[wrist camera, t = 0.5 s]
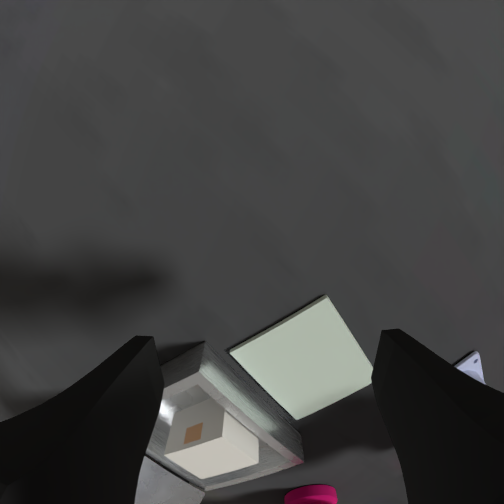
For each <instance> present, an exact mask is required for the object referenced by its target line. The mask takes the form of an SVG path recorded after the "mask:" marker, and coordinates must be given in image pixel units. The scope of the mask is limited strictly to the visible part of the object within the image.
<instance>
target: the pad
mask: <svg viewBox="0 0 504 504" xmlns="http://www.w3.org/2000/svg"><path fill="white" fill-rule="evenodd" d="M230 354H231V355H232V356H233V357H234V358H235V359H236V360H237V361H238V362H239V363H240V364H241V365H242V367H243V368H244V369H245V370H246V371H247V372H248V373H249V374H250V375H251V376H252V377H253V378H254V379H255V380H256V381H257V382H258V383H259V384H260V385H261V386H262V387H263V388H264V389H265V390H266V391H267V392H268V393H269V394H270V395H271V396H272V397H273V398H274V399H275V400H276V401H277V402H278V403H279V404H280V405H281V406H282V407H283V408H284V409H285V410H286V411H287V412H288V413H290V414H291V415H292V416H293V417H294V418H295V419H296V420H298V419H301V418H303V417H305V416H307V415H310V414H312V413H314V412H316V411H318V410H320V409H322V408H324V407H326V406H329V405H331V404H333V403H335V402H337V401H339V400H341V399H342V398H344V397H346V396H348V395H350V394H352V393H354V392H356V391H358V390H360V389H361V388H363V387H365V386H367V385H369V384H370V383H372V381H371V375H372V371H373V367H372V365H371V363H370V362H369V360H368V359H367V357H366V355H365V354H364V352H363V351H362V349H361V347H360V346H359V344H358V343H357V341H356V340H355V338H354V336H353V335H352V333H351V332H350V330H349V329H348V327H347V326H346V324H345V322H344V321H343V319H342V318H341V316H340V315H339V313H338V312H337V310H336V309H335V307H334V305H333V304H332V302H331V301H330V299H329V298H328V296H327V295H324V296H323V297H321V298H319V299H318V300H316V301H314V302H313V303H311V304H309V305H308V306H306V307H304V308H303V309H301V310H299V311H298V312H296V313H294V314H293V315H291V316H289V317H287V318H286V319H284V320H282V321H281V322H279V323H277V324H275V325H274V326H272V327H270V328H268V329H267V330H265V331H263V332H261V333H259V334H258V335H256V336H254V337H252V338H250V339H249V340H247V341H245V342H243V343H241V344H239V345H238V346H236V347H234V348H232V349H230Z"/></svg>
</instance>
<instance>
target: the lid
mask: <svg viewBox="0 0 504 504" xmlns="http://www.w3.org/2000/svg"><path fill="white" fill-rule="evenodd" d="M204 495H205V493H204V492H202V491H200V490H199V489H197V488H195V487H193V486H192V485H190V484H188V483H186V482H185V481H183V480H181V479H180V478H178V477H176V476H175V475H173V474H172V473H170V472H168V471H167V470H165V469H164V468H162V467H161V466H159V465H158V464H156V463H155V462H153V461H152V460H150V459H149V458H147V457H146V456H144V459H143V462H142V466H141V470H140V474H139V479H138V484H137V490H136V496H135V503H134V504H200V503H201V501H202V499H203V497H204Z"/></svg>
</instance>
